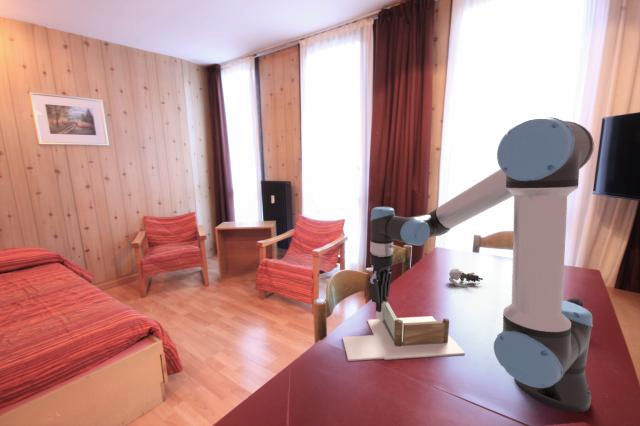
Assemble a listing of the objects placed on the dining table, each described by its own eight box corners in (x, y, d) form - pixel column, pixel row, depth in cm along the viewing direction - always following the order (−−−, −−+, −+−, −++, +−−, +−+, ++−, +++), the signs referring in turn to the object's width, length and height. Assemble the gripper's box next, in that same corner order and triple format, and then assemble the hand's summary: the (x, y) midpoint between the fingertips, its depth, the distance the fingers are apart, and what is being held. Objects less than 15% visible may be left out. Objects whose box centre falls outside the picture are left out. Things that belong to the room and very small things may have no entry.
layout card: (464, 354, 86) (464, 352, 86) (348, 362, 84) (348, 360, 84) (432, 317, 107) (432, 315, 107) (338, 322, 104) (338, 321, 104)
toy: (487, 270, 131) (453, 263, 131) (488, 288, 127) (454, 281, 127) (474, 277, 140) (443, 271, 141) (475, 294, 136) (443, 287, 137)
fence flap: (398, 338, 93) (399, 318, 92) (393, 338, 93) (393, 319, 92) (386, 315, 107) (387, 298, 106) (382, 315, 107) (382, 298, 105)
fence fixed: (449, 343, 91) (451, 320, 89) (395, 346, 89) (396, 323, 88) (445, 338, 93) (447, 316, 92) (392, 342, 92) (393, 319, 90)
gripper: (382, 260, 91) (380, 330, 95) (400, 250, 100) (398, 314, 104) (361, 256, 95) (360, 322, 99) (381, 247, 105) (379, 308, 109)
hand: (380, 318), depth 102 cm, fingers closed
